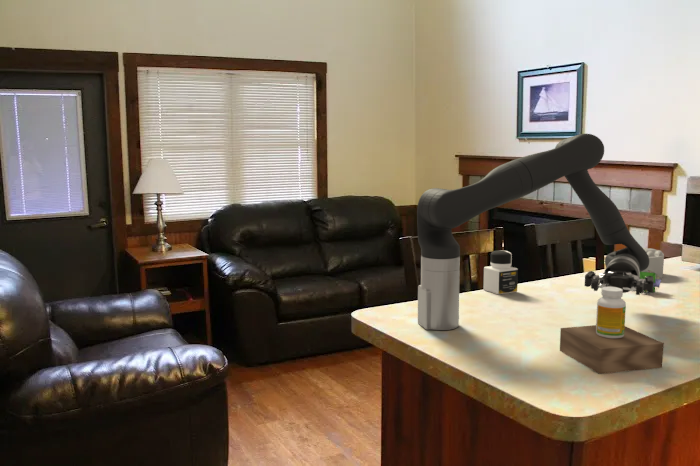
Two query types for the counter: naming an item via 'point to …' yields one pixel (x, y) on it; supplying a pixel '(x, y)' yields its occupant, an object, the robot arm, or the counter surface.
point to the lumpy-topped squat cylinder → (655, 261)
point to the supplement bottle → (611, 313)
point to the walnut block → (611, 350)
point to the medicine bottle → (500, 274)
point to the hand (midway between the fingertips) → (616, 288)
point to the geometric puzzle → (655, 278)
